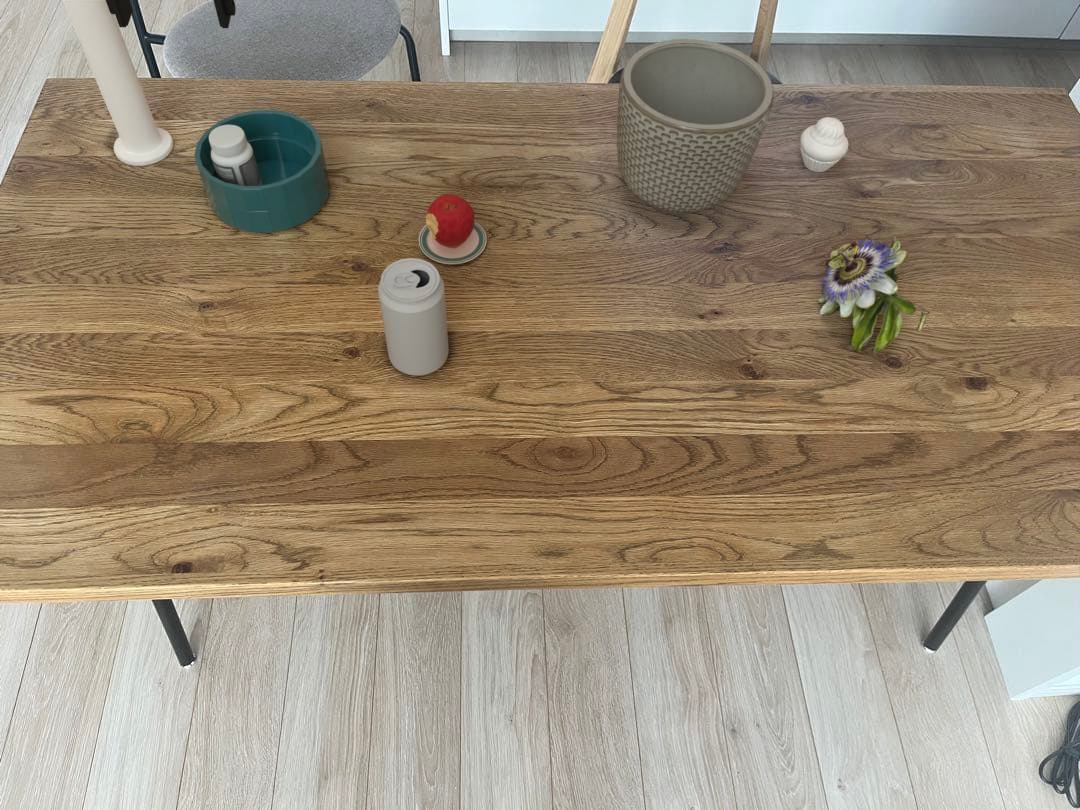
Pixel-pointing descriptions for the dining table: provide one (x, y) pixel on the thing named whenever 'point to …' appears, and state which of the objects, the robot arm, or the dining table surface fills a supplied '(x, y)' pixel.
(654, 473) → the dining table surface
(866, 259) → the passion flower
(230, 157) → the pill bottle
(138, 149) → the candle
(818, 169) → the muffin
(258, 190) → the teal pet bowl
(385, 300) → the beverage can
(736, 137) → the planter
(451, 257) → the apple
